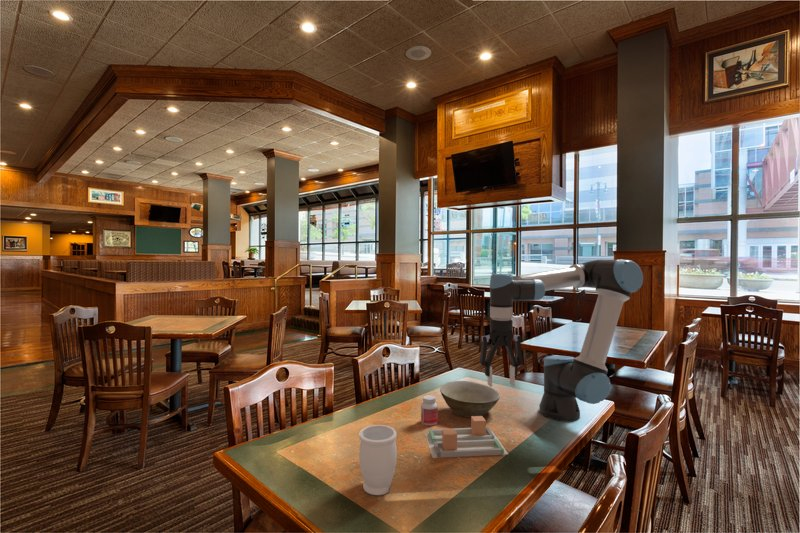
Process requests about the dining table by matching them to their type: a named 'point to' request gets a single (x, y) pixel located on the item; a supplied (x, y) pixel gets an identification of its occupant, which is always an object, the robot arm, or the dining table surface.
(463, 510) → the dining table surface
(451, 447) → the tab
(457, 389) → the bowl
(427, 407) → the pill bottle
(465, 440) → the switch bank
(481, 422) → the tab
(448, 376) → the dining table surface
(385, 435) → the jar
